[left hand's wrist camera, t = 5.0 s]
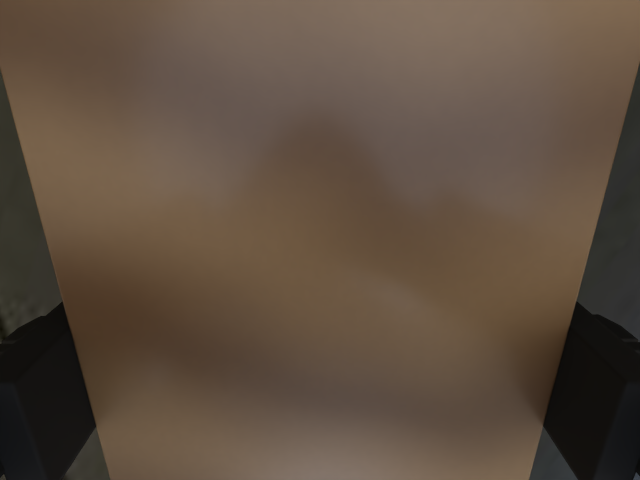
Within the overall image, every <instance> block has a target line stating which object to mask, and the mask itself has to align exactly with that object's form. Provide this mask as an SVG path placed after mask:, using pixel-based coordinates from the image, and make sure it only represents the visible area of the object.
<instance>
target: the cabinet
mask: <svg viewBox="0 0 640 480" xmlns="http://www.w3.org/2000/svg"><path fill="white" fill-rule="evenodd" d="M639 63H640V0H0V69H1V73H2V77H3V81H4V84H5V88H6V92H7V96H8V99H9V103H10V107H11V110H12V114H13V118H14V122H15V125H16V129H17V133H18V137H19V140H20V144H21V148H22V152H23V155H24V159H25V163H26V166H27V170H28V174H29V178H30V181H31V185H32V189H33V193H34V196H35V200H36V204H37V208H38V211H39V215H40V219H41V222H42V226H43V230H44V234H45V237H46V241H47V245H48V249H49V252H50V256H51V260H52V263H53V267H54V271H55V275H56V278H57V282H58V286H59V290H60V293H61V297H62V301H63V305H64V308H65V312H66V316H67V319H68V323H69V327H70V331H71V334H72V338H73V342H74V346H75V349H76V353H77V357H78V361H79V364H80V368H81V372H82V375H83V379H84V383H85V387H86V390H87V394H88V398H89V402H90V405H91V409H92V413H93V416H94V420H95V424H96V428H97V431H98V435H99V439H100V443H101V446H102V450H103V454H104V458H105V461H106V465H107V469H108V472H109V476H110V480H529V477H530V473H531V470H532V466H533V462H534V458H535V454H536V451H537V447H538V443H539V439H540V436H541V432H542V428H543V424H544V421H545V417H546V413H547V409H548V406H549V402H550V398H551V394H552V390H553V387H554V383H555V379H556V375H557V372H558V368H559V364H560V360H561V357H562V353H563V349H564V345H565V342H566V338H567V334H568V330H569V327H570V323H571V319H572V315H573V311H574V308H575V304H576V300H577V296H578V293H579V289H580V285H581V281H582V278H583V274H584V270H585V266H586V263H587V259H588V255H589V251H590V247H591V244H592V240H593V236H594V232H595V229H596V225H597V221H598V217H599V214H600V210H601V206H602V202H603V199H604V195H605V191H606V187H607V184H608V180H609V176H610V172H611V168H612V165H613V161H614V157H615V153H616V150H617V146H618V142H619V138H620V135H621V131H622V127H623V123H624V120H625V116H626V112H627V108H628V104H629V101H630V97H631V93H632V89H633V86H634V82H635V78H636V74H637V71H638V67H639Z"/></svg>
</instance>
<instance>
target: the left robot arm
mask: <svg viewBox="0 0 640 480" xmlns="http://www.w3.org/2000/svg"><path fill="white" fill-rule="evenodd" d="M543 426H544V428H545V429H546V431H547V433H548V434H549V436H550V437H551V439H552V440H553V442H554V443H555V445H556V446H557V448H558V450H559V451H560V453H561V454H562V456H563V457H564V459H565V460H566V462H567V463H568V465H569V466H570V468H571V470H572V471H573V473H574V474H575V476H576V477H577V479H578V480H633V478H634V476H635V473H636V472H637V473H638V475H639V476H640V342H638V339H636V338H635V337H634V336H633V335H632V334H630V333H629V332H628V331H627V330H625V329H624V328H623V327H622V326H620V325H618V324H616V323H614V322H612V321H610V320H608V319H606V318H604V317H603V316H601V315H592V314H591V313H590V312H589V311H587V310H586V309H585V308H584V307H583V306H582V305H580V304H579V303H578V302H577V301H576V304H575V308H574V311H573V315H572V319H571V323H570V327H569V330H568V334H567V338H566V342H565V345H564V349H563V353H562V357H561V360H560V364H559V368H558V372H557V375H556V379H555V383H554V387H553V390H552V394H551V398H550V402H549V406H548V409H547V413H546V417H545V421H544V424H543ZM95 427H96V424H95V420H94V416H93V413H92V409H91V405H90V402H89V398H88V394H87V390H86V387H85V383H84V379H83V375H82V372H81V368H80V364H79V361H78V357H77V353H76V349H75V346H74V342H73V338H72V334H71V331H70V327H69V323H68V319H67V316H66V312H65V308H64V305H63V302H61V303H60V304H59V305H58V306H57V307H56V308H54V309H53V310H52V311H51V312H50V313H49V314H47V315H46V316H40V317H38V318H36V319H34V320H32V321H31V322H29V323H27V324H25V325H23V326H21V327H19V328H18V329H16V330H15V331H14V332H13V333H12V334H10V335H9V336H8V337H7V338H5V339H4V340H3V341H2V344H0V478H1V476H2V475H3V474H4V475H5V477H6V480H62V478H63V477H64V475H65V473H66V472H67V470H68V469H69V467H70V466H71V464H72V463H73V461H74V460H75V458H76V457H77V455H78V453H79V452H80V450H81V449H82V447H83V446H84V444H85V443H86V441H87V440H88V438H89V436H90V435H91V433H92V432H93V430H94V429H95Z"/></svg>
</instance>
